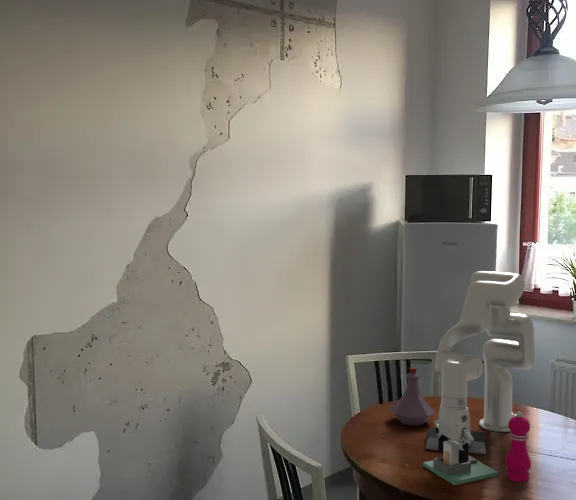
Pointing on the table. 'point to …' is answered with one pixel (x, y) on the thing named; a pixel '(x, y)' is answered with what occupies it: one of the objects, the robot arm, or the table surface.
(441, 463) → the board
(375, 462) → the table surface
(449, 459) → the plug
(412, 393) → the flask
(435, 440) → the external hard drive
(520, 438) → the pepper mill
